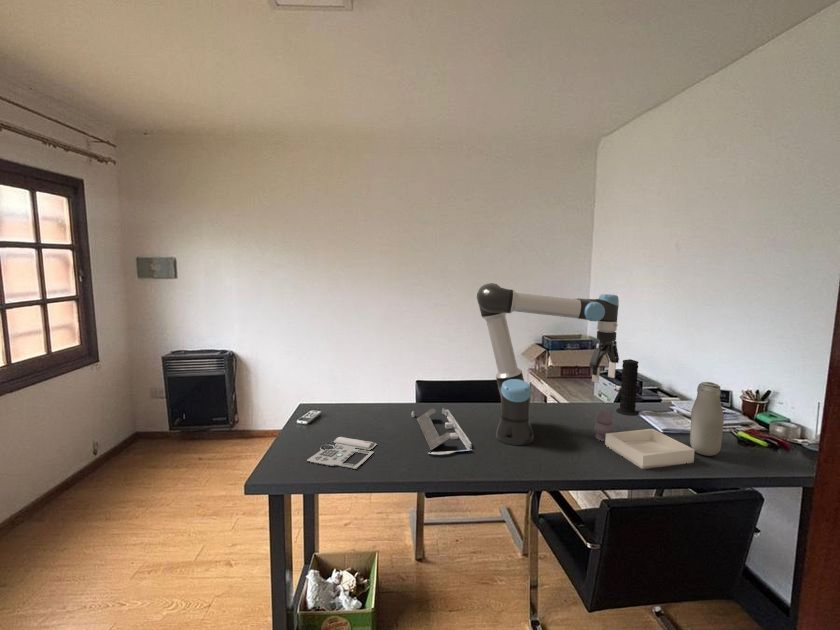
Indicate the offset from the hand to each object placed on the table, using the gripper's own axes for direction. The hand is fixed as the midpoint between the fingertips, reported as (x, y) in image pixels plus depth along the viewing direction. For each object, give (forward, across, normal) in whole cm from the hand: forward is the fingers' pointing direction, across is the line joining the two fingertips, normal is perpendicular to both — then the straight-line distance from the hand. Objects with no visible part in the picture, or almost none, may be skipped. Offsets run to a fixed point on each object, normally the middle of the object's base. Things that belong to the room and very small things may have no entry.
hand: (603, 379), depth 179 cm
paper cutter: (+24, -57, +41) cm, 74 cm away
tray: (+22, -8, -23) cm, 33 cm away
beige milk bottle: (+22, +9, -36) cm, 44 cm away
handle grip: (+23, +32, +4) cm, 40 cm away
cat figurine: (+23, -7, -6) cm, 25 cm away
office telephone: (+24, -98, +48) cm, 112 cm away
